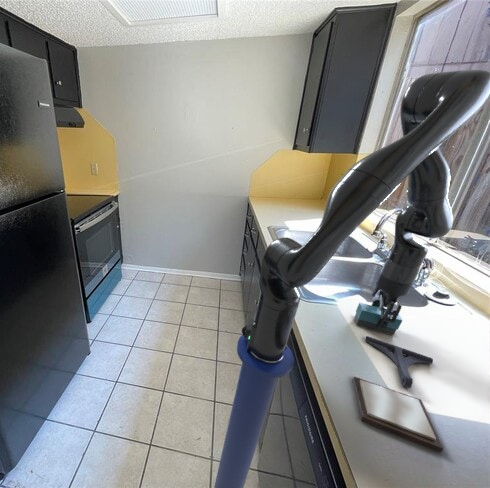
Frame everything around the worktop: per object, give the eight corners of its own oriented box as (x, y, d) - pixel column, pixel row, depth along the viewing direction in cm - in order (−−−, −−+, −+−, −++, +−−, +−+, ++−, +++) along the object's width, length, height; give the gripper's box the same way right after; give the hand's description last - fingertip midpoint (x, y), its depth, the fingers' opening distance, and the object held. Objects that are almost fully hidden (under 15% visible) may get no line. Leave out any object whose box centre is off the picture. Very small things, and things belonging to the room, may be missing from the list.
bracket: (368, 374, 65) (372, 366, 64) (364, 338, 77) (368, 331, 76) (446, 406, 58) (452, 398, 57) (429, 361, 70) (433, 354, 69)
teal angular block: (355, 325, 82) (362, 310, 80) (353, 317, 86) (359, 302, 83) (394, 336, 78) (402, 320, 76) (390, 327, 82) (397, 312, 79)
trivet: (360, 420, 54) (363, 415, 54) (352, 379, 64) (354, 374, 63) (441, 452, 50) (445, 447, 49) (418, 403, 59) (422, 397, 58)
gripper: (375, 262, 82) (358, 304, 88) (388, 284, 70) (367, 330, 76) (405, 268, 79) (385, 310, 85) (423, 291, 67) (398, 339, 74)
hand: (376, 319), depth 81 cm, fingers open, 8 cm apart
